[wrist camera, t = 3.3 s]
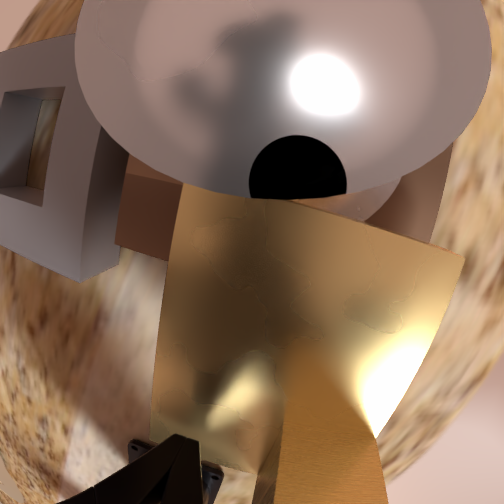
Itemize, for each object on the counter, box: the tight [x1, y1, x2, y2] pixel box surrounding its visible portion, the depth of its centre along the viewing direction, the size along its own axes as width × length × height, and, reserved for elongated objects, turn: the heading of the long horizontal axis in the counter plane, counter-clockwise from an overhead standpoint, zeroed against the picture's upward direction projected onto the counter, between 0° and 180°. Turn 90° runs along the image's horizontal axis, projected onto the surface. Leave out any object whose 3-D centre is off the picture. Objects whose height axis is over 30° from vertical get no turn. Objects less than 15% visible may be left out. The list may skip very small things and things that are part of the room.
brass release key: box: [149, 183, 465, 504], centre depth 6 cm, size 9×7×6 cm
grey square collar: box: [0, 33, 130, 283], centre depth 11 cm, size 10×10×3 cm
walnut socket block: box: [114, 142, 453, 261], centre depth 10 cm, size 10×10×3 cm
